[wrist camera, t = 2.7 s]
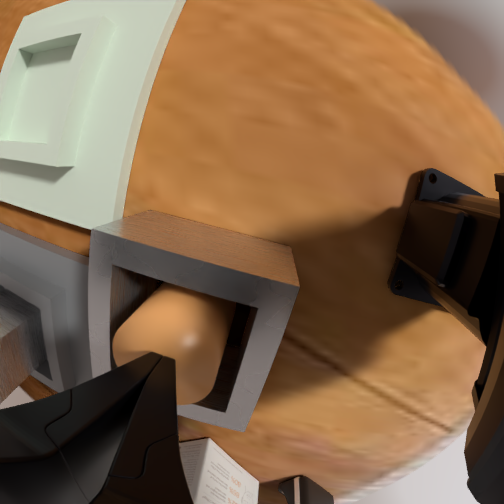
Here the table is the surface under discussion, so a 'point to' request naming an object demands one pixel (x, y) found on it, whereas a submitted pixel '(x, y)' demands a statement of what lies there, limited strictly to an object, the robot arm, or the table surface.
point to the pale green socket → (79, 104)
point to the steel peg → (19, 341)
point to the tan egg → (179, 336)
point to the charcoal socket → (51, 302)
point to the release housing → (199, 279)
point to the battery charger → (304, 492)
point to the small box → (216, 475)
